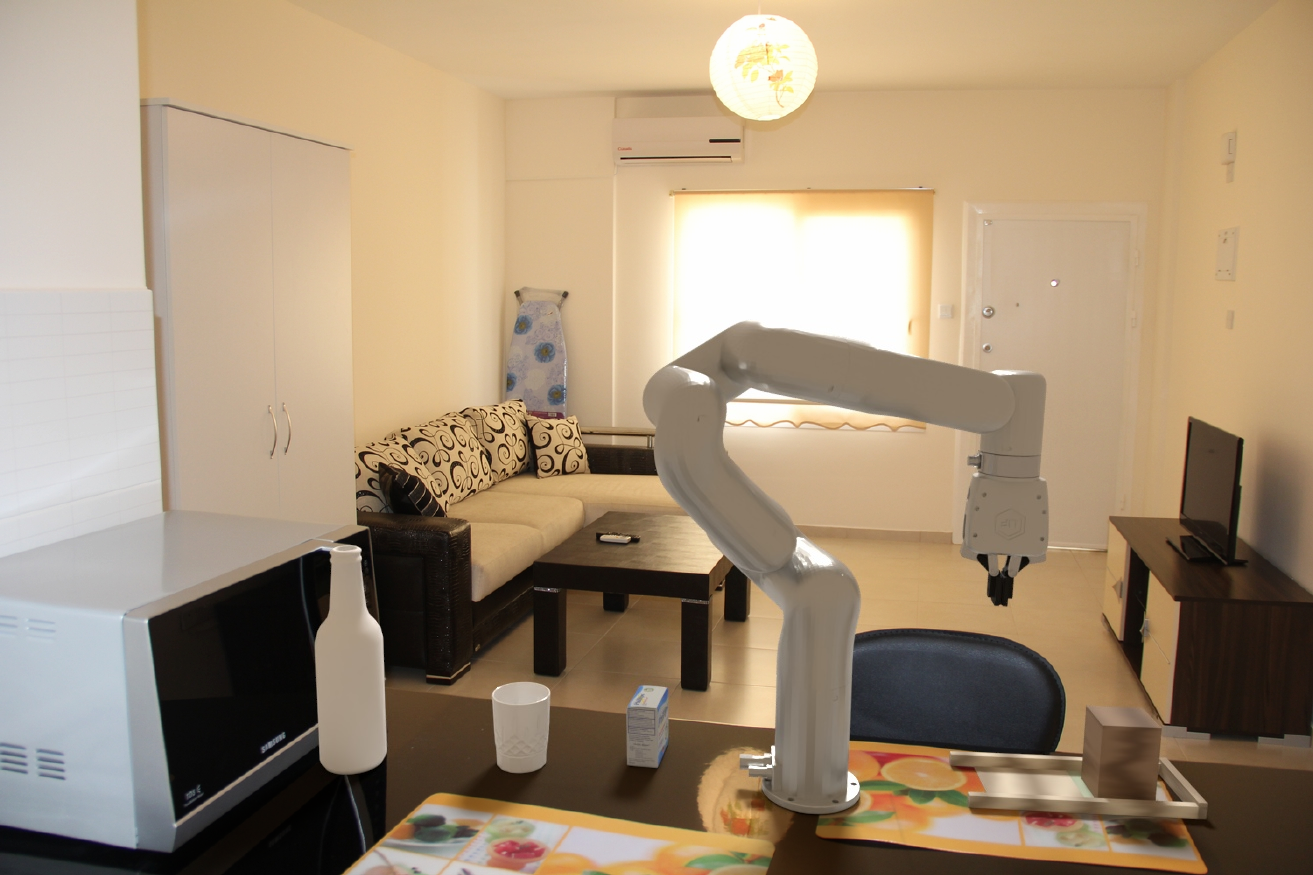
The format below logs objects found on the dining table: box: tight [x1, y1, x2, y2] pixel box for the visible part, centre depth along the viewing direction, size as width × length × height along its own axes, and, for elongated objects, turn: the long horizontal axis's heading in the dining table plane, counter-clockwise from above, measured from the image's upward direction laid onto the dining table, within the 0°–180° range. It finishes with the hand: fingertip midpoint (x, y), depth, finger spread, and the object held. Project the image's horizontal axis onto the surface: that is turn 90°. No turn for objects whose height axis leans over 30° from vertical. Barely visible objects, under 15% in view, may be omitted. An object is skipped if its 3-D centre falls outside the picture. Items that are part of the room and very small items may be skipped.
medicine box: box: [625, 684, 669, 769], centre depth 138 cm, size 8×4×9 cm, turn 168°
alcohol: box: [314, 544, 388, 775], centre depth 134 cm, size 9×9×30 cm
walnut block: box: [1081, 705, 1163, 801], centre depth 125 cm, size 7×6×10 cm
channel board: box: [948, 750, 1209, 820], centre depth 127 cm, size 28×12×4 cm, turn 85°
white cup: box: [491, 681, 551, 774], centre depth 135 cm, size 8×8×10 cm
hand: (998, 602), depth 130 cm, fingers closed
